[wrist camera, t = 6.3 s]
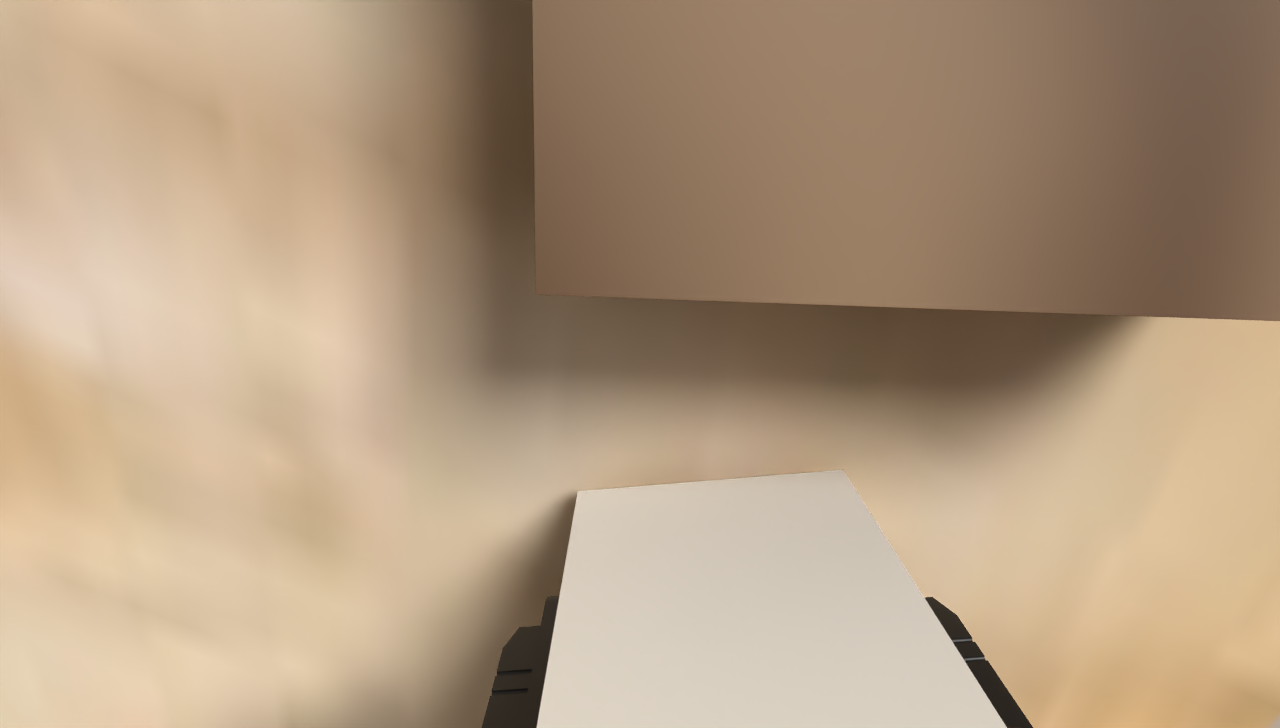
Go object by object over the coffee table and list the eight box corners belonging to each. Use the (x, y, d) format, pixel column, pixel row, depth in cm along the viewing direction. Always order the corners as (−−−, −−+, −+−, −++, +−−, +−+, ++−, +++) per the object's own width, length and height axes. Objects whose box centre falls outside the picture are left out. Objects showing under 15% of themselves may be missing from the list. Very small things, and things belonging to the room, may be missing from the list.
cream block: (605, 701, 14) (583, 1070, 9) (577, 491, 13) (528, 771, 7) (842, 683, 14) (980, 1047, 8) (843, 469, 13) (1012, 737, 7)
